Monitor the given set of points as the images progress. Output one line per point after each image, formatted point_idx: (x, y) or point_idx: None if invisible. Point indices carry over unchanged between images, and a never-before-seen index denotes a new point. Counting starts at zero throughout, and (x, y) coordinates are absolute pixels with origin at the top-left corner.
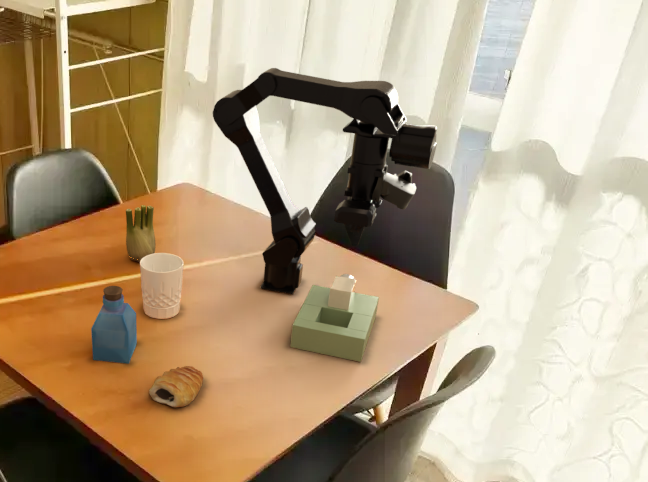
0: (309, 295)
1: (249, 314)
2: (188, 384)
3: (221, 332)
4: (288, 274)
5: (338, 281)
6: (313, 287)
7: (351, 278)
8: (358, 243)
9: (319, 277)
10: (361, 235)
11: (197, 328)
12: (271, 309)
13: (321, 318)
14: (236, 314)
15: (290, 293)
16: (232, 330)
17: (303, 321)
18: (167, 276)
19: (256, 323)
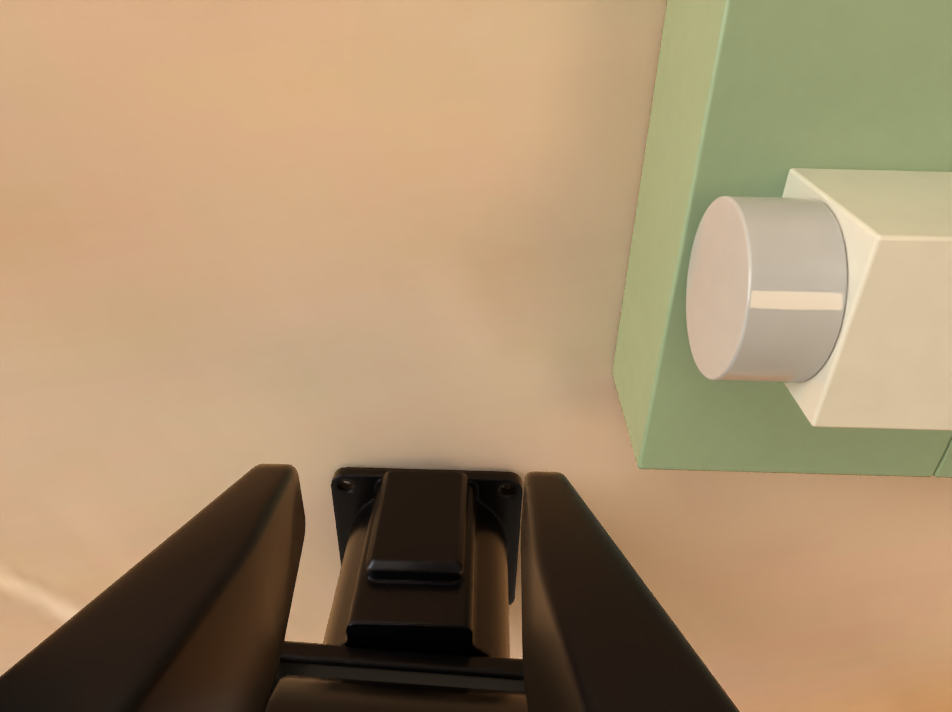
0: (811, 464)
1: (771, 586)
2: None
3: (949, 638)
4: (490, 585)
5: (945, 392)
6: (679, 459)
7: (864, 288)
8: (547, 494)
9: (232, 384)
10: (269, 514)
11: (918, 701)
12: (701, 523)
13: None
14: (780, 624)
15: (520, 485)
16: (929, 611)
17: None
18: None
19: (855, 550)
